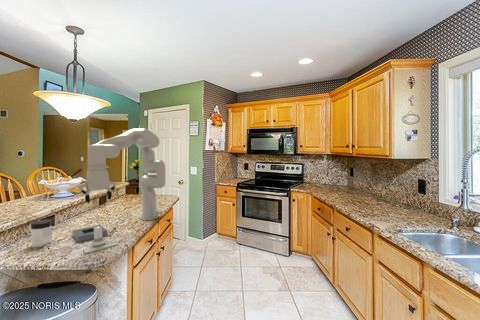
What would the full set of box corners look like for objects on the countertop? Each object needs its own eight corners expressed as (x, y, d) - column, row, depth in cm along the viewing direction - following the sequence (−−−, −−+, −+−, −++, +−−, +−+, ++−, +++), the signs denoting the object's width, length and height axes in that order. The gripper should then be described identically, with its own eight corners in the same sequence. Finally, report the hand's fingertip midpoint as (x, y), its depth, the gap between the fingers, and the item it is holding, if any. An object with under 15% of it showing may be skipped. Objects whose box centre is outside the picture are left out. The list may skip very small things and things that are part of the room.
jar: (26, 248, 116) (25, 224, 115) (37, 242, 124) (36, 220, 123) (47, 246, 118) (46, 223, 117) (56, 240, 126) (55, 218, 125)
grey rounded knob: (103, 241, 122) (102, 224, 122) (106, 244, 118) (105, 227, 118) (91, 244, 118) (90, 227, 118) (93, 247, 114) (92, 230, 114)
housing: (100, 231, 140) (100, 224, 140) (107, 237, 130) (107, 230, 130) (72, 237, 130) (72, 230, 130) (77, 244, 120) (77, 237, 120)
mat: (109, 239, 127) (109, 237, 127) (117, 245, 119) (117, 244, 119) (79, 246, 117) (79, 245, 117) (85, 254, 109) (85, 252, 109)
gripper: (113, 166, 128) (114, 197, 129) (76, 168, 116) (77, 202, 117) (118, 167, 123) (119, 199, 124) (79, 169, 111) (81, 205, 112)
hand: (98, 200), depth 120 cm, fingers open, 9 cm apart
